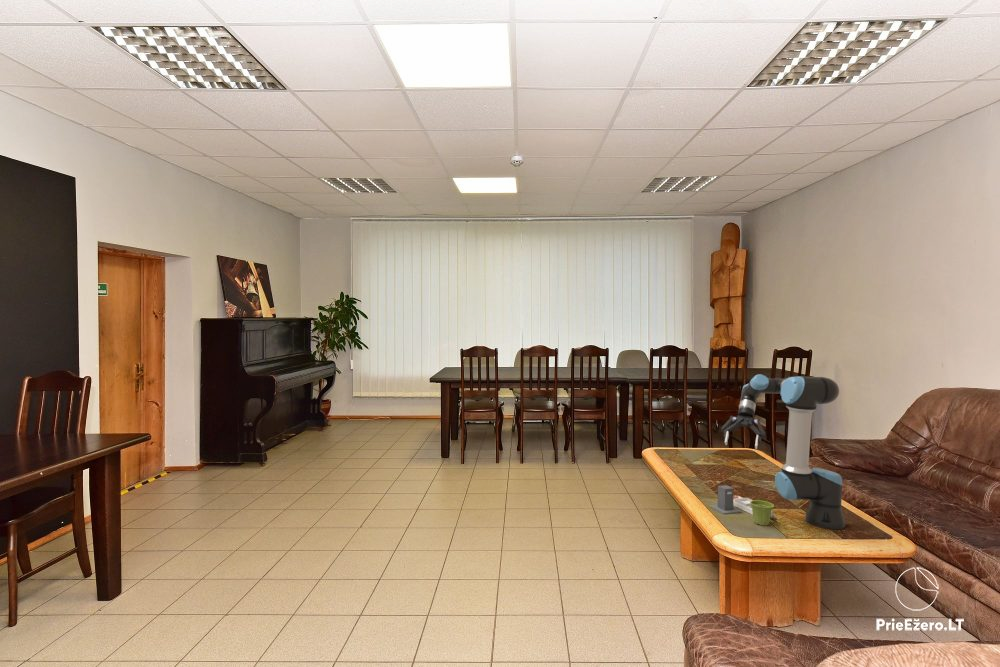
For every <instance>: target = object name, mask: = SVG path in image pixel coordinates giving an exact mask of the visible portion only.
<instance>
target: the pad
mask: <svg viewBox="0 0 1000 667" xmlns="http://www.w3.org/2000/svg"><path fill="white" fill-rule="evenodd" d="M708 507H709V508H711V509H712V510H714V511H717V512H718V513H720V514H721V515H729V514H741V513H742V512H743V510H741V509H739V508H737V507H735V506H733V510H725V511H724V510H722V509H720V508H718V504H714V505H713V504H711V505H709V506H708Z"/></svg>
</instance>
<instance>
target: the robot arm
mask: <svg viewBox="0 0 1000 667" xmlns="http://www.w3.org/2000/svg"><path fill="white" fill-rule="evenodd" d="M740 394H741V396H740V400H739V406H738V411H737V416H733V415H730V416H729V419H728V420H727V421H726V422H725V423H724V424H723V425H722V427H720V431H721V432H722V433H723V438H724V445H725V446H727V445H728V441H729V436H730V433H731V432H732V431H733V430H735V429H736V428H739V427H741V428H742V427H744V428H748V427H749V428H750V430H752V431H753V432H754V433H755V435H756V437H755V441H754V442H755V444H754V449H755V450H758V445H759V444H760V443H761V442H762V438H766V437H767V436H766V432H765V430H764V428H763V425H762V424H761V419H760V418H756V419H754V418H755V412H756V406H757V401H758V398H759V397H760V396H761V394H780V397H781V400H782V402H784V404H785V407H786V408H787V409H788V411H789V412H788V413H789V414H788V426H787V428H788V429H787V442H786V443H787V444H786V459H785V463H784V464H783V465H781V471H778V472H776V474H775V475H774V484H775V488H776V490H777V492H778V494H779V495H780V496H781V497H782V498H784V499H785V500H789V501H790V500H793V501H810V504H809V506H808V507H807V510H806V513H805V515H804V516H805V518H804V519H805V520H804V521H805V522H807V523H808V524H810V525H812V526H815V527H818V528H823V529H828V530H843V529H845V528H846V519H845V518H844V514H843V511H842V497H843V495H842V493H843V486H844V485H843V477H842V476H841V474H839V473H837V472H835V471H831V470H828V469H824V468H818V467H813V468H810V467H809V462H810V461H809V460H810V447H811V433H812V418H813V413H814V412H815V411H817V406H818V405H826V404H830V403H832V402H834V401H835V400H836V399H837V398H838V397H839V394H840V388H839V385H838V384H837V382H836V381H835V380H833V379H831V378H829V377H825V376H799V375H798V376H789V377H788V378H787V377H786V378H768V377H767V376H766V375H763V374H762V373H761V374H759V373H758V374H756V375H754V376H753V377H752V378H751V379H750V381H749V383H747V384H744V385H743V386H742V390H741V393H740ZM733 422H734V423H733ZM754 423H755V424H756V425H757V427H758V428H757V427H756V425H754ZM758 429H759V430H758ZM844 527H845V528H844Z"/></svg>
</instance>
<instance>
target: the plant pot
mask: <svg viewBox="0 0 1000 667" xmlns="http://www.w3.org/2000/svg"><path fill="white" fill-rule="evenodd" d="M752 500H753V501H750V504H751V507H752V512H753V515H752V519H753V523H754V524H756V525H760V526H768V525H770V522H771V518H770V516H771V511H773V508H774V507H775V505H774V503H771V502H769V501H767V500H760V499H759V500H758V499H755V500H754V499H752Z"/></svg>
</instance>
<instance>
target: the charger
mask: <svg viewBox="0 0 1000 667" xmlns="http://www.w3.org/2000/svg"><path fill="white" fill-rule="evenodd" d="M734 490H735V488H733V487H732V486H729V485H718V486H717V505H718V508H720V509H722V510H724V511H725V510H733V507H734V505H733V500H734V494H735V493H734V492H735V491H734Z"/></svg>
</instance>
